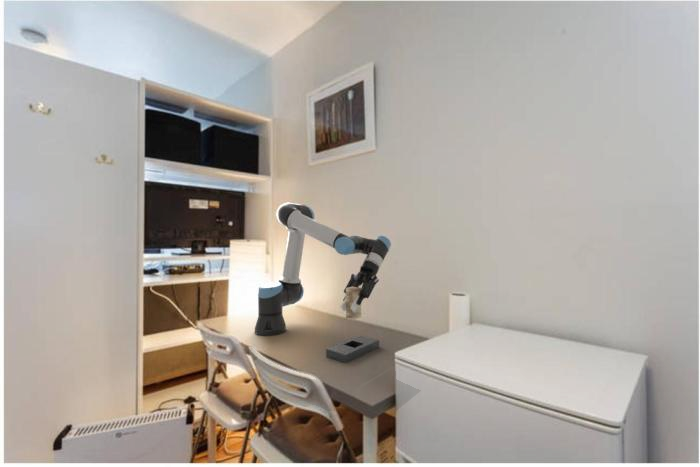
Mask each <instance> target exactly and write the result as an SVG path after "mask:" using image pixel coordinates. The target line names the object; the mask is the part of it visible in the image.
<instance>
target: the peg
mask: <svg viewBox="0 0 700 467" xmlns="http://www.w3.org/2000/svg"><path fill="white" fill-rule="evenodd" d="M345 288H346V287H345ZM361 288H362V287H360V286H359V287H348V288H346V294H345V296H346V310H345V318H346V319H347V318H348V319H351V320H356V319H360V318H362V303H361V304H360V305H359V306H358V308H357V310H356V312H355V313H353V311H352V310H351V309H350V308H351V306H352V304H353V303H354V301H355V299H356V297H357V295H359V293H360V291H361ZM359 296H360V295H359Z"/></svg>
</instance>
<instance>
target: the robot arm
mask: <svg viewBox="0 0 700 467" xmlns="http://www.w3.org/2000/svg"><path fill="white" fill-rule="evenodd" d="M276 218H277V221H278V222H279V223H280V224H281V225H282V226H284V227H285V228H286V230H287V231H288V236H287V243H286V249H285V256H284V263H283V264H284V265H283V271H282V276H281V277H279V280H278V281H277V282H276V281H275V282H266V283H263V284H262V285H260V286H259V288H258V294H257V296H258V298H257V300H258V302H257V303H258V312H257V313H258V317H257V319H256V322H255V323H256V324H255V326H254V334H256V333H257V334H256V335H258V334H260V335H259V336H274V335H275V336H276V335H280V334H283V333H286V331H287V324H286V322H285V318H284V316H283V307H286V306H290V305H294V304H296V303H298V302H299V301H301V299H303V296H304V290H305V288H304V287H303V284H302V283H301V282H302V280H301V278H300V270H301V265H302V256H303V250H304V244H305V235H307V236H308V237H311V238H313V239H315V240H316V241H319V242H321V243H323V244H324V245H327V246H329V247H331V248H332V249H334V250H335V251H336V253H338V254H339V255H342V256H343V255H344V256H348V255H353V254H355V255H356V254H362V255H366V257H365V258H364V260H363V262H362V263H361V266H360V267H359V271H358V272H357V274H354V273H352V274H351V276H350V279H349V280H348V282H347V284H346V286H345V288H344V290H343V293H344V294H345V295H344V298H343V299H342V300H343V301H342V304H341V305H340V308H341V309H342V311H344V312H346V288H348V287H360V286H361V287H360V288H361V291H360V293H359V295H360V296H359V295H357V297H356V299H355V301H354V303H353V304H352V306H351V308H350V309H351V310H352V311H353V313H355V312H356V310H357V308H358V306H359V305H360V304H361V305H362V303H363V300H364V299H369V298H370V296H371V294H372V293H373V290H374V288H375V287H376V285H377V283H378V282H379V281H380V279H379V278H378V276H377V274H378V272H379V269H380V268H381V266H382V264H383V262H384V260H385V258H386V257H387V254H388V252H389V250H390V248H391V246H392V242H391V240H390V238H388V237H387V236H384V235H379V236H377V237H376V238H375V239H373V238H367V237H363V236H359V235H351V236H349V235H346V234H343V233H342V232H339V231H338V230H337V229H334V228H332V227H329V226H328V225H325V224H323V223H322V222H319V221H317V220H315V212H314V210H313V209H312V208H311V207H310V206H308V205H306V204H301V203H293V202H285V203H283V204H281V205H280V206H279V207H278V208H277V210H276Z"/></svg>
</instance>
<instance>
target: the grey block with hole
mask: <svg viewBox="0 0 700 467" xmlns="http://www.w3.org/2000/svg"><path fill="white" fill-rule="evenodd" d="M379 348H380V339H377V338H373V337H369V336H366V335H358V336H355V337H352V338H351V339H347V340H345V341H343V342H340V343H338V344H335V345H332V346H329V347H327V348H325V356H326V357H327V358H330V359H331V360H336V361H339V362H341V363H345V364H347V363H348V362H351V361H353V360H355V359H357V358H359V357H362V356H364V355H366V354H367V353H370V352H372V351H373V350H376V349H379Z"/></svg>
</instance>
